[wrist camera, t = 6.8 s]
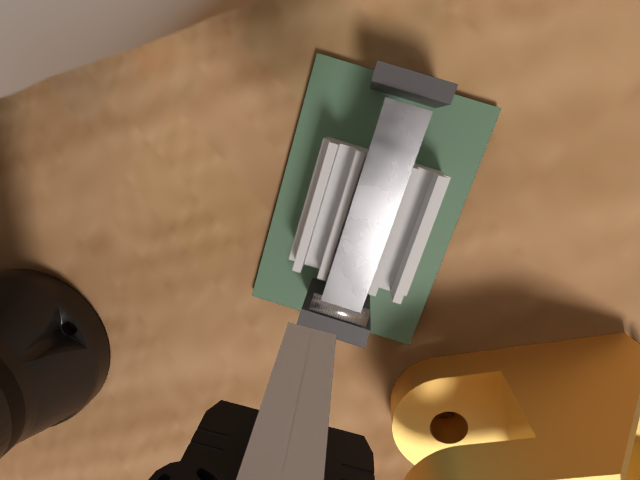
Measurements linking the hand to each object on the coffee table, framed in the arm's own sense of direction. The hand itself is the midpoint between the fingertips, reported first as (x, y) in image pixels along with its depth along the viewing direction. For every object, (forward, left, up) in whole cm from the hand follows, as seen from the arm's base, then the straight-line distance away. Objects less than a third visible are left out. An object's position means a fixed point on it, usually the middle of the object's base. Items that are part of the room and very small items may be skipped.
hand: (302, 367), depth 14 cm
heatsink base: (+2, +1, -24) cm, 24 cm away
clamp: (+18, -11, -24) cm, 32 cm away
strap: (+2, +2, -16) cm, 16 cm away
